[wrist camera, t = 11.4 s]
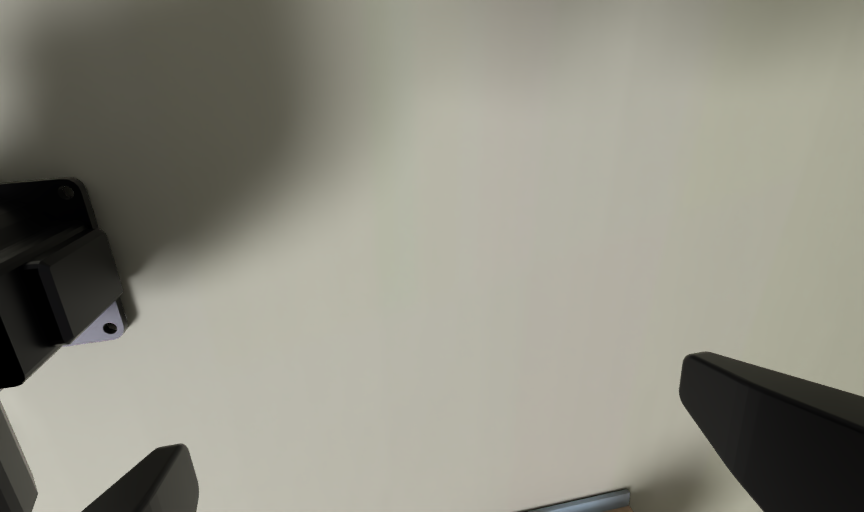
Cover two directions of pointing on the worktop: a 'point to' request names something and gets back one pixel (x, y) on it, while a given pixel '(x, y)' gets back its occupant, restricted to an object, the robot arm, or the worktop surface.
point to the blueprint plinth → (594, 504)
